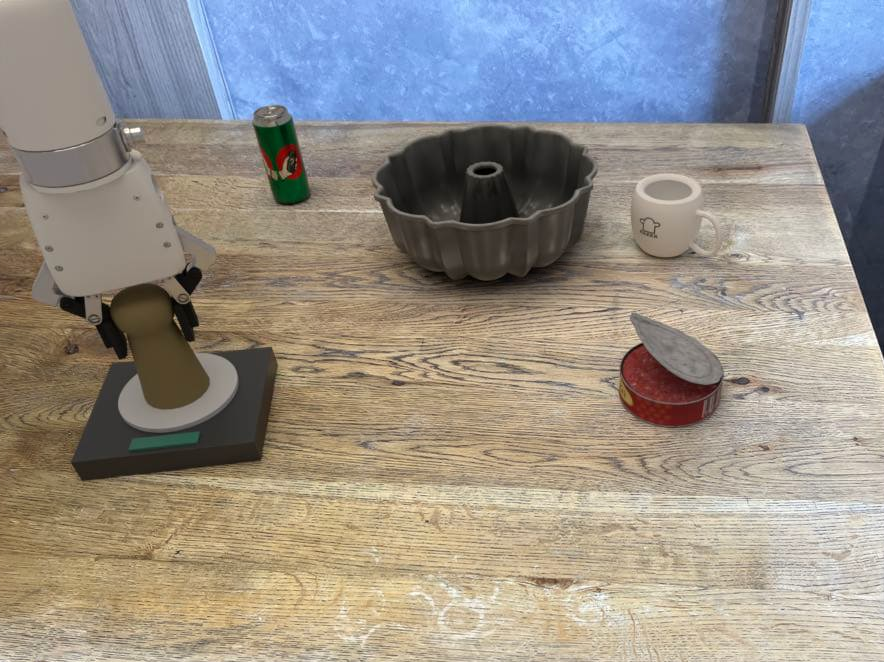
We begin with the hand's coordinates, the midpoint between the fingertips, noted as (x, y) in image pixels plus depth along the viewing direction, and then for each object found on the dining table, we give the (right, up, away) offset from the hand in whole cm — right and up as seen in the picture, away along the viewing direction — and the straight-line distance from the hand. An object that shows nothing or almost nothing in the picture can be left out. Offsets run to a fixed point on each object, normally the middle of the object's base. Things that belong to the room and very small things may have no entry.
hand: (156, 340), depth 74 cm
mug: (+51, +13, +25) cm, 58 cm away
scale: (+1, -7, +5) cm, 9 cm away
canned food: (+48, -5, +6) cm, 48 cm away
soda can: (+1, +23, +38) cm, 44 cm away
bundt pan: (+29, +14, +27) cm, 42 cm away
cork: (0, -4, +4) cm, 6 cm away
